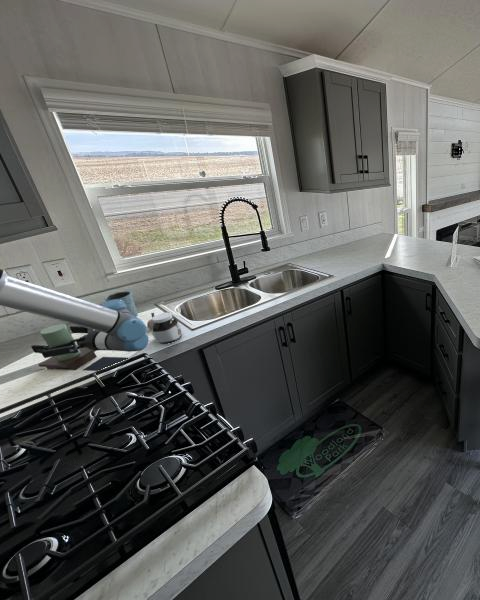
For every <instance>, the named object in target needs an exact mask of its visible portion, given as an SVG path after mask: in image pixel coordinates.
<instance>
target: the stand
mask: <svg viewBox="0 0 480 600" xmlns="http://www.w3.org/2000/svg"><path fill="white" fill-rule="evenodd" d="M79 350H80V354H78V355H77V356H75V357H73V358H70V359H67V360H63V361H57V360H56V358H55V357H54V356H53V357H48V358H47V359H45V360H43V361H41V362H40V363H38V364H37V365H38V366H39V367H40V368H46V370H59V371H76V370H79V369H80V368H81V367H83V366H85V365H86V364H88V363H89V362H91V361H92V360H94V359H95V358H97V355H96V351H97V350H91V349H88V348H86V347H85V348H79Z"/></svg>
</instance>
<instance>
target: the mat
mask: <svg viewBox="0 0 480 600" xmlns="http://www.w3.org/2000/svg"><path fill="white" fill-rule="evenodd" d="M128 358H129V357H122V356H121V357H119V356H102V357H100V358H99V359H97V360H95V361H94V362H93V363H91V364H89V365H88V366H86V367H85V368H83V369H82V371H85V372H88V371H89V372H99V371H98V370H101V369H103V368H105V367H108V366H111V365H113V364H115V363H118V362H121V361H123V360H126V359H128Z"/></svg>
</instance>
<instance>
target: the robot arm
mask: <svg viewBox="0 0 480 600" xmlns="http://www.w3.org/2000/svg"><path fill="white" fill-rule="evenodd" d="M0 306H1V307H5V308H10V309H13V310H16V311H17V310H18V311H21V312H24V313H28V314H32V315H36V316H40V317H44V318H48V319H51V320H56V321H59V322H63V323H67V324H71V326H69V329H70V331H71V332H72V333H71V334H84V335H83V336H80V337H78V338H75V339H74V338H73V339H74V340H71V341H70V342H67V343H63V344H59V345H55V346H51V347H49V346H48V345H41V344H40V345H39V344H38V345H34V344H32V345H31V346H30V348H31V349H32V351H33V353H35V354H41V355H42V357H43V358H44V359H46V358H47V359H49V358H51V357H53V356H58V355H64V354H69V353H77V352H78V349H79V348H85V347H86V348H88V349H91V350H96V351H110V352H111V351H112V352H128V353H131V352H140V351H143V350H145V348H146V347H147V346H148V344H149V335H148V334H147V324H145V323H144V321H143V320H142V319H140V318H139V317H138V316H134V315H133V314H132V313H130V312H129V311H128V309H127V306H126V305H125V303H124V301H123V300H111V301H107V302H106V301H104V302H101V303H100V304H96V303H94V302H91V301H87V300H85V299H81V298H78V297H74V296H72V295H68V294H65V293H62V292H60V291H56V290H54V289H50V288H47V287H44V286H41V285H37V284H35V283H31V282H28V281H25V280H22V279H19V278H15V277H12V276H10V275H8V274H7V272H6V270H3V269H1V268H0ZM74 342H76V344H77V346H76V345H75V343H74Z"/></svg>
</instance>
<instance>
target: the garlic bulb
mask: <svg viewBox="0 0 480 600" xmlns="http://www.w3.org/2000/svg"><path fill="white" fill-rule="evenodd" d="M150 315H151V318H150V319H148V321H147V324H146V327H147V328H148V329H149V330H150V331H152V327H153V323H154V322H153V320H152V318H153V317H154V316H155V313H154V312H151V314H150Z"/></svg>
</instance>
